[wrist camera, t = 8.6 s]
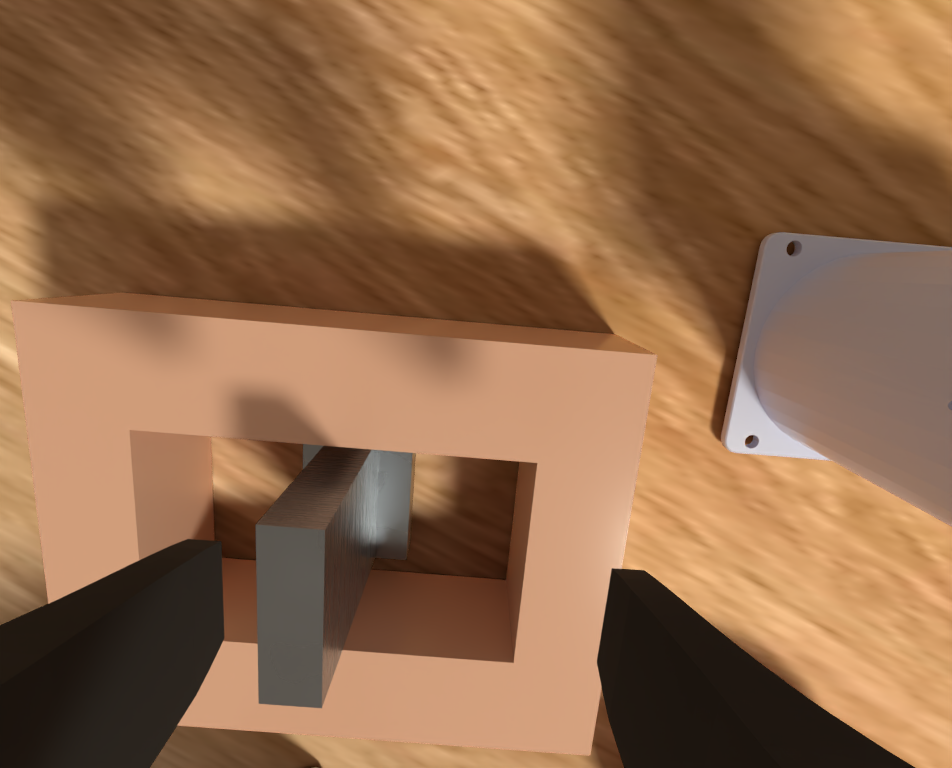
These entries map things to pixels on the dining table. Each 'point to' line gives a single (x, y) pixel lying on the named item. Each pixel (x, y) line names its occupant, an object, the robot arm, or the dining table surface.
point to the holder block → (365, 427)
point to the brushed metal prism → (324, 563)
